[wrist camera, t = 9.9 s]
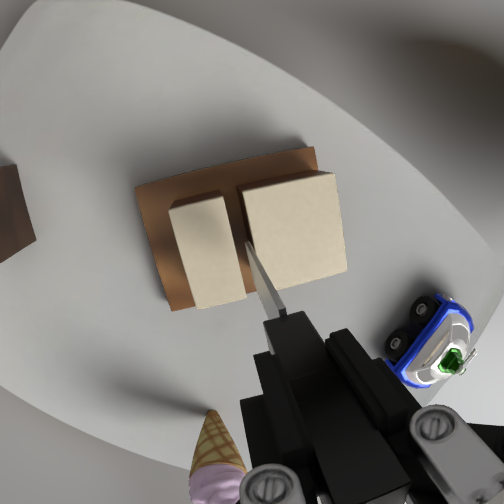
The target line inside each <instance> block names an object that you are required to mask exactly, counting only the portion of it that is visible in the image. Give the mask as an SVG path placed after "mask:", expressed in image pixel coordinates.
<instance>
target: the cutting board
mask: <svg viewBox="0 0 504 504" xmlns="http://www.w3.org/2000/svg"><path fill="white" fill-rule="evenodd" d="M307 170H318V166H317V160H316V155H315V150H314V147H304V148H298V149H293V150H287V151H282V152H277V153H272V154H266V155H261V156H257V157H252V158H247V159H242V160H238V161H233V162H229V163H224V164H220V165H216V166H212V167H207V168H203V169H199V170H195V171H191V172H187V173H183V174H179V175H175V176H172V177H168V178H164V179H161V180H157V181H153V182H150V183H146V184H143V185H139V186H137V187H135V188H134V189H135V193H136V197H137V200H138V204H139V208H140V211H141V215H142V219H143V222H144V226H145V229H146V233H147V236H148V239H149V243H150V246H151V250H152V253H153V256H154V259H155V263H156V266H157V269H158V272H159V275H160V278H161V281H162V284H163V287H164V290H165V293H166V296H167V299H168V302H169V305H170V308H171V311H177V310H181V309H185V308H189V307H194V306H196V305H195V302H194V299H193V296H192V292H191V289H190V286H189V283H188V279H187V276H186V273H185V269H184V266H183V262H182V259H181V255H180V252H179V248H178V245H177V241H176V238H175V234H174V231H173V227H172V223H171V219H170V216H169V212H168V211H169V209H170V207H171V205H172V204H173V202H174V201H175V200H179V199H183V198H187V197H190V196H194V195H198V194H202V193H207V192H211V191H215V190H220V191H221V193H222V196H223V198H224V202H225V207H226V211H227V215H228V220H229V224H230V228H231V232H232V237H233V241H234V245H235V249H236V254H237V258H238V262H239V266H240V271H241V275H242V279H243V283H244V287H245V292H246V294H247V293H251V292H255V291H257V289H256V287H255V285H254V281H253V277H252V272H251V268H250V264H249V259H248V255H247V250H246V246H245V242H247V241H248V239H247V234H246V230H245V225H244V221H243V216H242V212H241V207H240V202H239V198H238V193H237V189H236V186H237V185H241V184H245V183H250V182H254V181H259V180H263V179H268V178H273V177H277V176H282V175H287V174H292V173H297V172H302V171H307Z"/></svg>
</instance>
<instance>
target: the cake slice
mask: <svg viewBox="0 0 504 504" xmlns="http://www.w3.org/2000/svg"><path fill="white" fill-rule="evenodd" d="M168 212H169V216H170V219H171V223H172V227H173V231H174V234H175V238H176V241H177V245H178V248H179V252H180V255H181V259H182V262H183V266H184V269H185V273H186V276H187V279H188V283H189V286H190V289H191V292H192V296H193V299H194V302H195V305H196V308H197V310H200V309H204V308H208V307H212V306H216V305H220V304H225V303H229V302H233V301H237V300H241V299H245V298H247V296H246V292H245V287H244V283H243V279H242V275H241V271H240V266H239V262H238V258H237V254H236V249H235V245H234V241H233V237H232V232H231V228H230V224H229V220H228V215H227V211H226V207H225V202H224V198H223V196H222V193H221V191H220V190H215V191H211V192H207V193H202V194H198V195H194V196H190V197H187V198H183V199H179V200H175V201H174V202H173V204H172V205H171V207H170V209H169V211H168Z"/></svg>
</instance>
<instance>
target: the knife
mask: <svg viewBox="0 0 504 504" xmlns="http://www.w3.org/2000/svg"><path fill="white" fill-rule="evenodd" d="M245 246H246V250H247V255H248V259H249V264H250V268H251V272H252V277H253V281H254V285H255V287H256V289H257V292H258V294H259V297H260V299H261V302H262V304H263V306H264V309H265V311H266V314H267V316H268V319H269V320H267V321H264V322H263V325H264V330H265V334H266V338H267V343H268V347H269V351H270V353H271V355H273V354H277V353H278V356H279V358H280V361H281V363H282V366H283V368H284V371H285V374H286V376H287V379H288V381H289V384H290V386H291V389H292V392H293V394H294V397H295V399H296V402H297V404H298V407H299V409H300V412H301V414H302V417H303V420H304V422H305V425H306V427H307V430H308V432H309V435H310V438H311V441H312V444H313V448H314V452H313V453H312V454H313V461H314V467H315V474H316V481H317V488H318V495H319V497H320V500H321V503H322V504H404V503H405V500H406V497H407V495H408V492H409V489H410V486H411V483H412V479H411V478H410V476H409V475H408V473H407V471H406V470H405V468H404V467H403V465H402V463H401V462H400V460H399V459H398V457H397V455H396V454H395V452H394V451H393V449H392V447H391V446H390V444H389V443H388V441H387V440H386V438H385V436H384V435H383V433H382V432H381V430H380V429H379V428H377V426H376V424H375V423H374V421H373V420H372V418H371V416H370V415H369V413H368V412H367V410H366V408H365V407H364V405H363V404H362V402H361V401H360V399H359V397H358V396H357V394H356V393H355V391H354V390H353V388H352V386H351V385H350V383H349V382H348V380H347V378H346V377H345V375H344V374H343V372H342V371H341V369H340V367H339V366H338V364H337V363H336V361H335V360H334V358H333V357H332V355H331V353H330V352H329V350H328V349H327V347H326V346H325V343H324V341H323V340H322V338H321V337H320V335H319V334H318V332H317V330H316V329H315V327H314V326H313V324H312V323H311V321H310V320H309V318H308V317H307V315H306V314H305V312H304V311H300V312H296V313H293V314H289V315H287V312H286V307H285V305H284V304H283V302H282V300H281V298H280V296H279V295H278V293H277V291H276V289H275V287H274V285H273V284H272V282H271V280H270V278H269V276H268V275H267V273H266V271H265V269H264V267H263V266H262V264H261V262H260V260H259V258H258V257H257V255H256V253H255V251H254V249H253V247H252V246H251V244H250V242H249V241H247V242H245Z"/></svg>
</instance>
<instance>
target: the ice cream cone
mask: <svg viewBox="0 0 504 504" xmlns="http://www.w3.org/2000/svg"><path fill="white" fill-rule="evenodd" d="M247 473H248V472H247V470H246V467H245V465H244V463H243V461H242V458H241V456H240V454H239V451H238V449H237V447H236V445H235V443H234V441H233V439H232V438H231V436H230V434H229V432H228V430H227V428H226V427H225V425H224V423H223V421H222V420H221V418H220V416H219V414H218V412H217V411H213V410H211V411H209V412H208V413H207V415H206V418H205V421H204V424H203V427H202V429H201V432H200V435H199V439H198V442H197V445H196V449H195V452H194V456H193V461H192V466H191V471H190V477H189V486H190V490H189V494H190V497H191V502H192V503H196V504H235V503H236V502H237V501H238V500H239V499H240V497H239V485H240V483H241V481H242V478H243V477H244V476H245V475H246V474H247Z"/></svg>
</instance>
